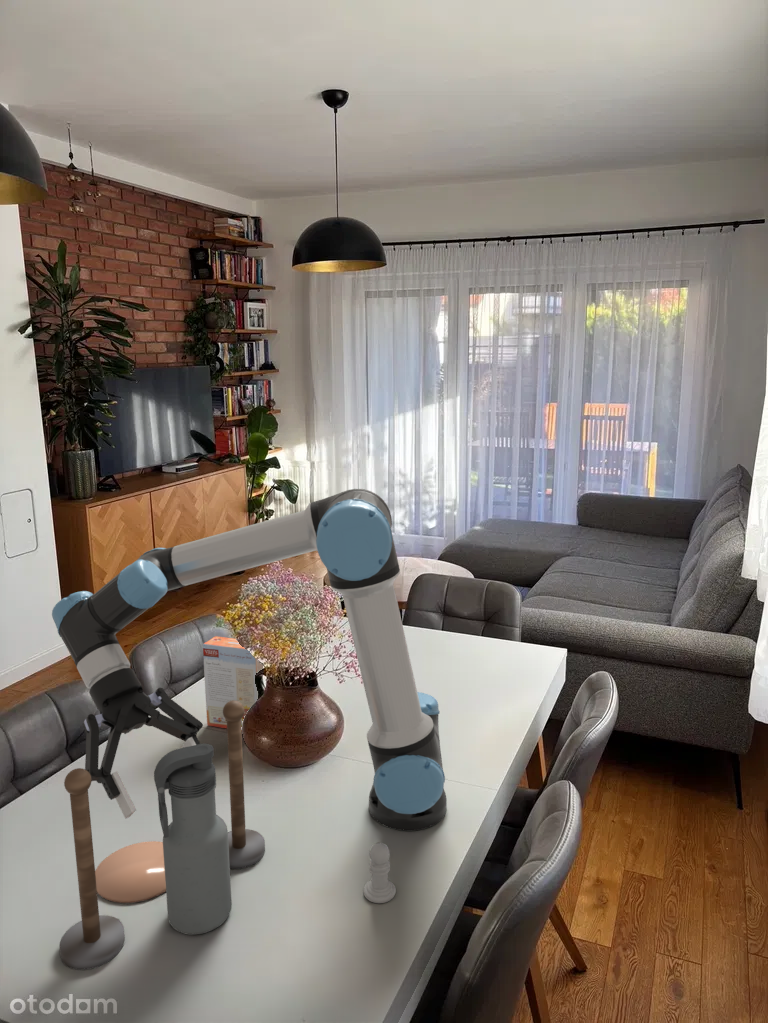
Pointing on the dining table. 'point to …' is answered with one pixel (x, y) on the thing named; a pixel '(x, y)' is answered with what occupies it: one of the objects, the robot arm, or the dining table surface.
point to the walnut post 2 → (239, 796)
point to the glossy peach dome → (132, 873)
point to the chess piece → (379, 875)
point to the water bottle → (193, 841)
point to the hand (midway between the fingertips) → (170, 794)
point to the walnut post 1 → (87, 890)
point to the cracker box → (228, 677)
